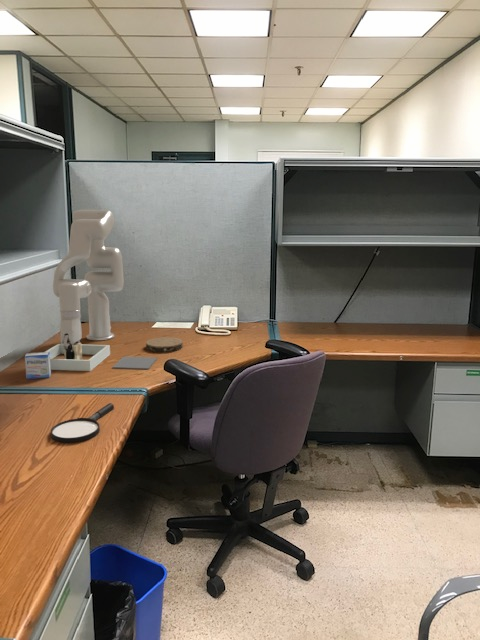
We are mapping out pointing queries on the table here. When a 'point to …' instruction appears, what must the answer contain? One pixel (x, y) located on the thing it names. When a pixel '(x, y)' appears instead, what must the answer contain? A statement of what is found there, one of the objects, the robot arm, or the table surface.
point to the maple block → (76, 351)
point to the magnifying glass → (79, 427)
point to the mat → (135, 363)
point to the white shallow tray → (78, 365)
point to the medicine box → (37, 365)
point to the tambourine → (164, 344)
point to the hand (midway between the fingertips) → (73, 358)
